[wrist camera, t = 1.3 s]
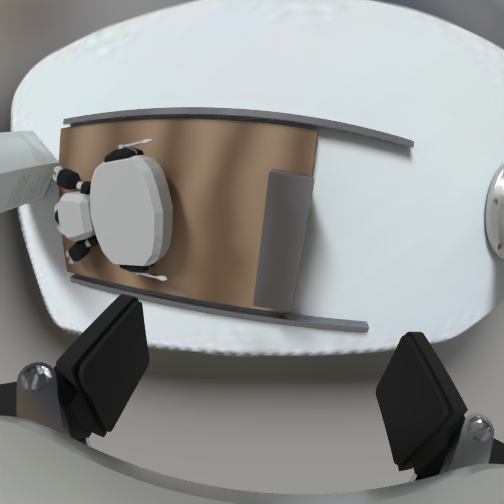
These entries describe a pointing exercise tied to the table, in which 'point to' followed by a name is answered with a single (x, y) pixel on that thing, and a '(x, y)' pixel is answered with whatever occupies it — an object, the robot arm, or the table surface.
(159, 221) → the robot toy
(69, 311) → the table surface
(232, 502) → the robot arm
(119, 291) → the guide rails
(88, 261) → the brown rectangular mat
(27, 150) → the skincare box
